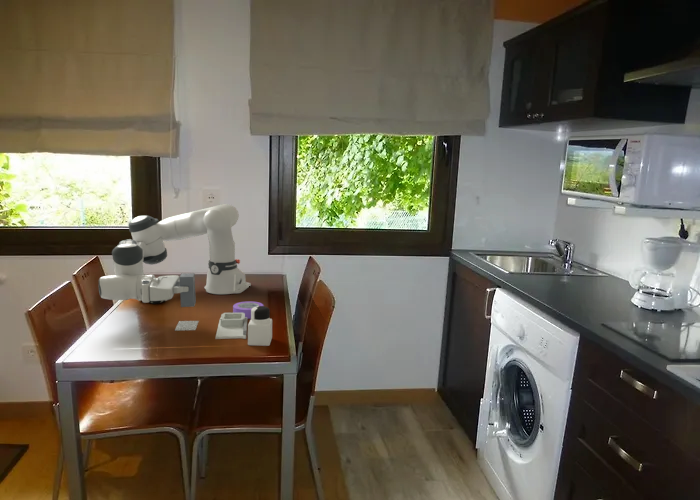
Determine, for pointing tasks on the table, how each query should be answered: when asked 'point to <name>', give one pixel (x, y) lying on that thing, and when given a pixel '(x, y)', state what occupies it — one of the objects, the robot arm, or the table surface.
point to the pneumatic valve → (155, 301)
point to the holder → (232, 326)
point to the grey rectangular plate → (186, 325)
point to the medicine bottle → (260, 327)
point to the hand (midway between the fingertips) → (189, 286)
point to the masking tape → (245, 307)
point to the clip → (189, 297)
